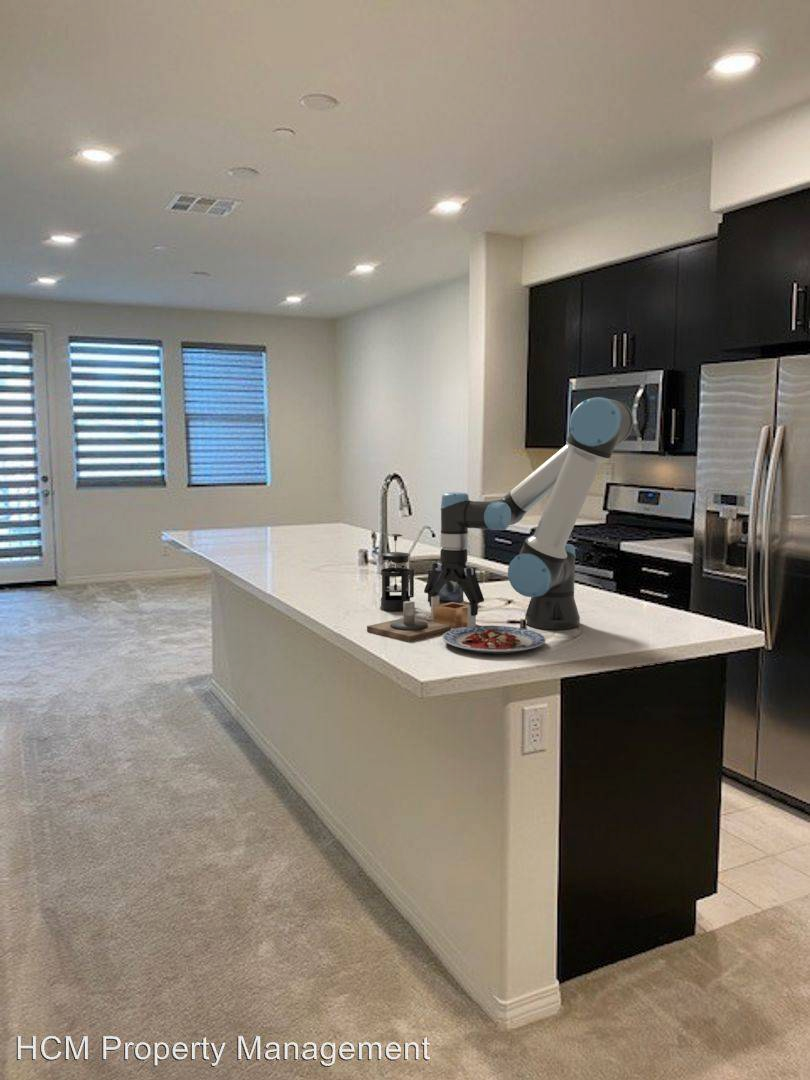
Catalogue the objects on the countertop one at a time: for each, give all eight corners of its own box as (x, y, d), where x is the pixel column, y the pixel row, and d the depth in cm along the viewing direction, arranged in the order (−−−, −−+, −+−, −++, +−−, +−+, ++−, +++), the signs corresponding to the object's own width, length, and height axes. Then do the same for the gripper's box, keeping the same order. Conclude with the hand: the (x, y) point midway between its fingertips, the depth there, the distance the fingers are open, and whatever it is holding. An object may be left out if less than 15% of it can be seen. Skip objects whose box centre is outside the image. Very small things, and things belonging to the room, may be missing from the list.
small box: (426, 602, 257) (427, 569, 256) (432, 598, 263) (432, 566, 262) (458, 604, 253) (459, 571, 252) (464, 600, 260) (464, 568, 258)
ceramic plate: (421, 643, 205) (421, 631, 205) (495, 629, 221) (495, 618, 220) (491, 665, 185) (491, 652, 184) (566, 648, 200) (567, 636, 200)
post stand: (450, 631, 217) (451, 602, 216) (409, 641, 206) (409, 611, 205) (408, 622, 228) (408, 594, 227) (367, 631, 217) (366, 602, 216)
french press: (389, 613, 240) (389, 536, 237) (372, 608, 247) (372, 533, 244) (421, 608, 247) (421, 534, 244) (403, 603, 254) (403, 531, 251)
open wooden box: (473, 623, 227) (474, 605, 226) (455, 627, 221) (455, 610, 220) (452, 618, 232) (452, 601, 232) (433, 623, 227) (433, 605, 226)
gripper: (497, 551, 218) (496, 628, 221) (430, 542, 235) (429, 613, 238) (480, 554, 213) (478, 632, 215) (412, 544, 230) (411, 617, 233)
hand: (452, 622), depth 227 cm, fingers open, 13 cm apart
